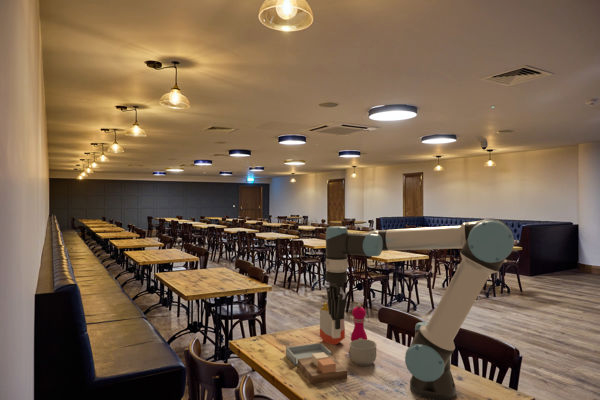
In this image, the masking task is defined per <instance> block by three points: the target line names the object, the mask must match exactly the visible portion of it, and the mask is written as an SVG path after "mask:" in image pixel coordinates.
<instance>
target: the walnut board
mask: <svg viewBox="0 0 600 400" xmlns="http://www.w3.org/2000/svg"><path fill="white" fill-rule="evenodd" d="M327 356H328V357H329V358H330V359H332V360H333V361H334V362H335V363H336V372H330V373H324V374H323V373H322V372H321V371H320V370H319V369H318V366H316V365H315V364H314V363H313V362H312V357H308V358H301V359H298V366H297V368H298V369H299V370H300V372H301V373H302V374H303V375H304V376H305V378H306V379H307V380H308V381H309V383H310V384H311V385H316V384H323V383H328V382H333V381H335V382H336V381H340V380H347V379H348V369H347V368H345V367H344V366H343V365H342V364H341V363H340V362H339V361H338V360H337V359H336V358H335V357H333V355H332V356H331V355H327Z"/></svg>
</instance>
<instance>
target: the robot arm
mask: <svg viewBox="0 0 600 400" xmlns="http://www.w3.org/2000/svg"><path fill="white" fill-rule="evenodd" d="M324 239H325V262H324V265H325V269H326V271H325V282H326V283H329V284H328V285H329V286H326V287H325V289H326V290H325V291H326V295H327V307H328V309H329V315H331V318H332V338H340V336H341V319H344V320H345V313H346V304H347V298H348V293H345V292H344V291H345V289H344V288H345V287H344V283H346V282H348V272H347V270H348V255H353V256H354V255H355V256H363V257H365V256H366V257H379V256H381V254H382V252H385V251H386V252H387V251H389V252H390V251H412V250H417V251H418V250H420V251H421V250H444V249H445V250H449V249H450V250H451V249H453V250H454V249H461V250H460V252H459V254H460V257H461V261H460V263H459V265H458V267H457V268H456V271H455V273H454V274H453V276H452V278H451V280H450V282H449V284H448V286H447V287H446V289H445V291H444V293H443V295H442V297H441V298H440V301H439V302H438V304H437V306H436V308H435V310H434V312H433V313H432V316H431V317H430V319H429V321H422V322H421V321H420V322H417V323H416V324H415V328H414V331H415V333H414V334H415V335H414V338H413V339H412V342H411V343H410V346H409V347H408V348H407V349H406V351H405V355H404V361H405V362H404V363H405V365H406V368H407V370H408V371H409V373H410V374H411V377H410V380H409V387H410V390H411V392H412V393H413V394H415V395H416V396H418V397H421V398H423V399H426V400H452V399H453V398H454V397H456V392H457V390H456V389H457V388H456V387H457V386H456V383H455V381H454V380H455V379H454V378H453V375H452V371H451V356H452V354H453V353H454V351H455V349H456V346H455V342H454V339H455V337H456V336H457V334H458V333H459V331H460V329H461V327H462V325H463V323H464V321H465V319H466V318H467V316H468V314H470V313H469V312H470V311H471V309H472V308H473V305H474V304H475V302H476V300H477V298H478V297H479V295H480V293H481V291H482V289H483V287H484V286H485V285H486V283H487V281H488V279H489V277H490V275H492V274H496V273H499V271H500V269H501V267H502V265H503V264H504V262H505V260H506V259H507V258H508V257H509V256H510V255H511V253H512V252H513V250H514V246H515V238H514V233H513V232H512V230H511V229H510V227H509V225H508V224H506V223H505V222H504V221H502V220H500V219H498V218H497V219H496V218H484V219H481V220H477V221H476V220H475V221H469V222H468V221H467V222H466V221H465V222H463V223H462V224H461V225H449V226H434V227H433V226H431V227H430V226H428V227H415V228H398V229H386V230H385V229H381V230H379V229H372V230H370V231H367V232H363V233H362V232H359V233H358V232H357V233H356V232H349V230H348V228H347V226H339V225H337V226H335V225H334V226H328V227H326V231H325V238H324Z"/></svg>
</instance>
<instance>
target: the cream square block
mask: <svg viewBox="0 0 600 400" xmlns="http://www.w3.org/2000/svg"><path fill="white" fill-rule="evenodd" d="M322 359H329V357H328V356H327V355H326V354H325V353H324V352H321V353H314V354H312V362H313V363H314V364H315V365H316V366H318V360H322Z"/></svg>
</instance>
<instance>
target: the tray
mask: <svg viewBox="0 0 600 400" xmlns="http://www.w3.org/2000/svg"><path fill="white" fill-rule="evenodd" d="M321 352H324V353H325V354H326V355H331V356H332V357H333V353H332V351H331V350H329V349H328V348H327V347H326V346H325V345H324V344H323V343H322V342H317V343H309V344H302V345H294V346H293V345H292V346H286V347H285V357H287V358H288V360H289V361H290V362H291V363H292V364H293V366H294V367H298V359H301V358H308V357H312V354H314V353H321Z"/></svg>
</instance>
